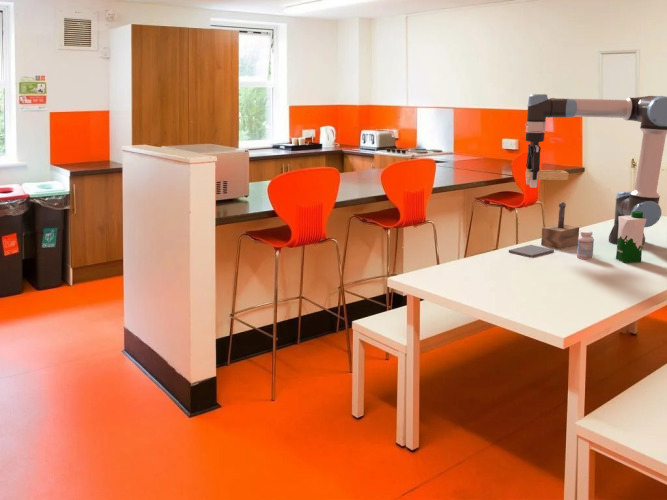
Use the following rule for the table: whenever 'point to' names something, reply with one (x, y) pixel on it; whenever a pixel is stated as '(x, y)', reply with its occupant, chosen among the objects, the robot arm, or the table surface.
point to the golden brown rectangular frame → (549, 175)
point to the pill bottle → (585, 245)
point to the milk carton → (630, 237)
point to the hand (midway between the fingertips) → (531, 185)
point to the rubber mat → (531, 251)
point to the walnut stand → (560, 233)
